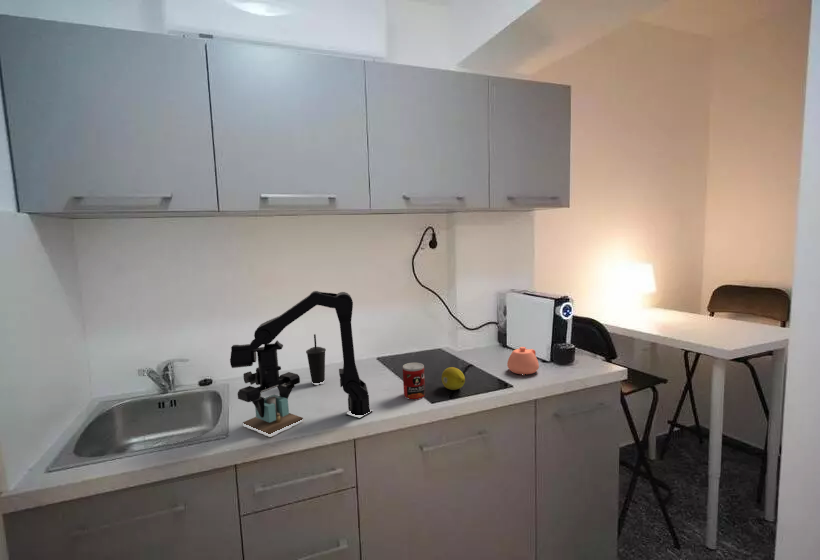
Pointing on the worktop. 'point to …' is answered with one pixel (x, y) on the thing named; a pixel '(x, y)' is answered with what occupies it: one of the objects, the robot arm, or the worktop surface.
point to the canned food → (413, 380)
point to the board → (273, 425)
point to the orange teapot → (523, 361)
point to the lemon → (453, 378)
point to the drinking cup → (316, 362)
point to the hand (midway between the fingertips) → (272, 412)
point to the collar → (270, 409)
